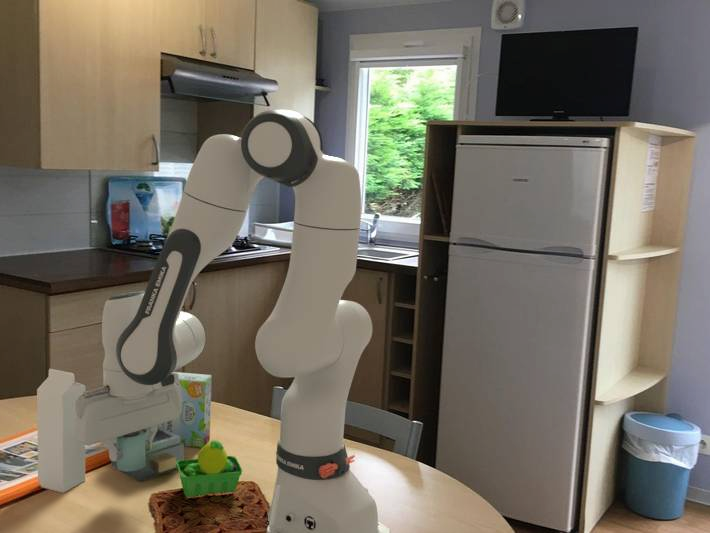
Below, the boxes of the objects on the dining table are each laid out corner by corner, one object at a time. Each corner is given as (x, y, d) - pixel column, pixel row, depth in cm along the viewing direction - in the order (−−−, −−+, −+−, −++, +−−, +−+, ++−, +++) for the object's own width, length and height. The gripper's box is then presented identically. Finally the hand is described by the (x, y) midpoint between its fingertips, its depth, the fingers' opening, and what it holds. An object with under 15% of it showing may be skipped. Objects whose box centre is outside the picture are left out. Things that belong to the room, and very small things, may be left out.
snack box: (210, 439, 165) (212, 373, 163) (203, 449, 160) (205, 381, 157) (118, 430, 167) (119, 365, 165) (108, 439, 161) (108, 373, 159)
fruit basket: (234, 479, 146) (235, 424, 144) (244, 499, 138) (246, 442, 136) (175, 485, 142) (176, 429, 140) (181, 507, 134) (183, 447, 132)
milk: (60, 474, 144) (60, 364, 141) (86, 480, 142) (86, 369, 138) (37, 486, 138) (36, 372, 135) (62, 493, 136) (62, 377, 133)
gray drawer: (188, 469, 149) (188, 439, 148) (145, 485, 141) (145, 452, 140) (154, 452, 156) (154, 422, 155) (111, 465, 149) (111, 434, 148)
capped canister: (151, 465, 136) (150, 428, 135) (127, 473, 132) (126, 435, 131) (135, 458, 139) (134, 422, 138) (111, 466, 135) (110, 429, 134)
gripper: (85, 397, 123) (88, 476, 125) (186, 372, 139) (187, 443, 141) (65, 389, 127) (68, 466, 129) (165, 366, 143) (166, 435, 145)
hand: (131, 454), depth 135 cm, fingers closed on capped canister, 5 cm apart
